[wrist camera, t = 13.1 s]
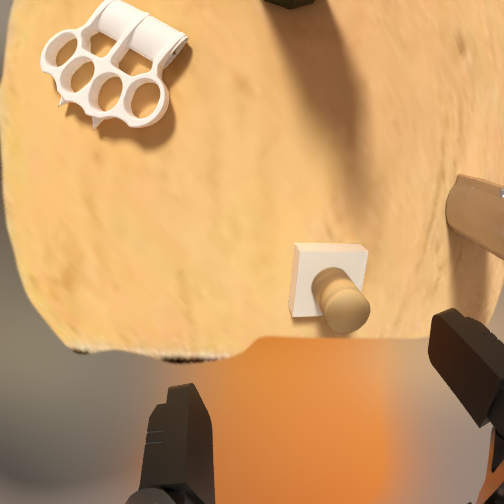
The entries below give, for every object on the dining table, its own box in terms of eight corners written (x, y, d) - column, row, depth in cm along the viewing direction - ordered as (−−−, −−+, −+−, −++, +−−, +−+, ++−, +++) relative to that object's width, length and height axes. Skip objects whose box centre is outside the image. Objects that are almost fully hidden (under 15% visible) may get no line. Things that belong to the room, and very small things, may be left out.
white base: (294, 242, 40) (300, 251, 38) (359, 243, 41) (368, 251, 39) (287, 305, 44) (292, 317, 41) (348, 302, 45) (356, 313, 42)
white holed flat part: (211, 55, 32) (136, 155, 35) (99, -7, 26) (33, 88, 30) (211, 48, 28) (129, 158, 32) (90, -16, 23) (20, 86, 26)
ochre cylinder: (313, 267, 39) (331, 295, 32) (351, 266, 39) (374, 293, 33) (309, 303, 40) (324, 335, 34) (345, 301, 41) (365, 331, 34)
